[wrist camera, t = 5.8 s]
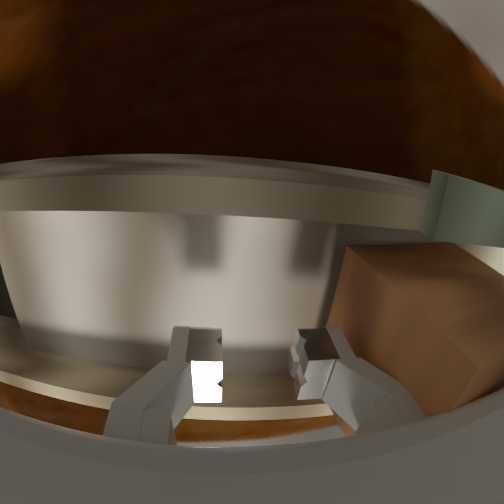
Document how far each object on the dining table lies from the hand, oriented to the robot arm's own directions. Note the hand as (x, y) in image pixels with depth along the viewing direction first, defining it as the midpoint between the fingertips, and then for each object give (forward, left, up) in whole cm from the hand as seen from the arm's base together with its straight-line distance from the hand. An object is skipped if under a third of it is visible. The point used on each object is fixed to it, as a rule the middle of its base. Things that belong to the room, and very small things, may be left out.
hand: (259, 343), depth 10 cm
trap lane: (+2, 0, -5) cm, 5 cm away
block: (+6, 0, -2) cm, 6 cm away
